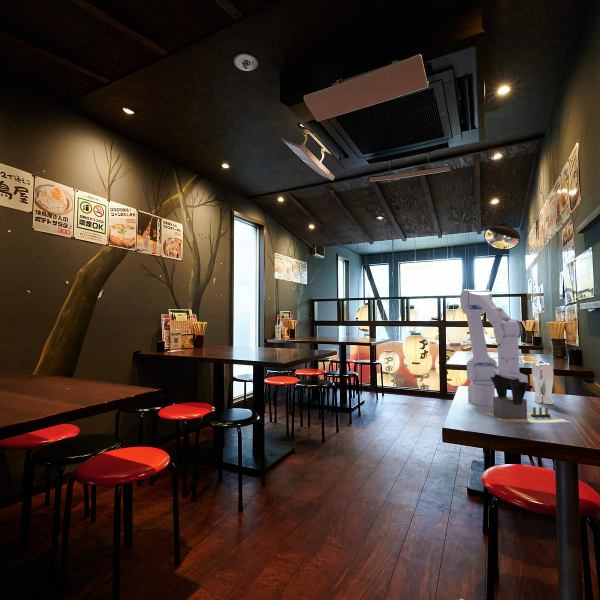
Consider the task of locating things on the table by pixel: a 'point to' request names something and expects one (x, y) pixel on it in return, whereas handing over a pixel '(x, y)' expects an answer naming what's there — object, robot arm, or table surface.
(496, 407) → the connector cap
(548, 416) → the header board
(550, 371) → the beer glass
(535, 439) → the table surface
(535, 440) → the table surface
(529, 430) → the table surface
